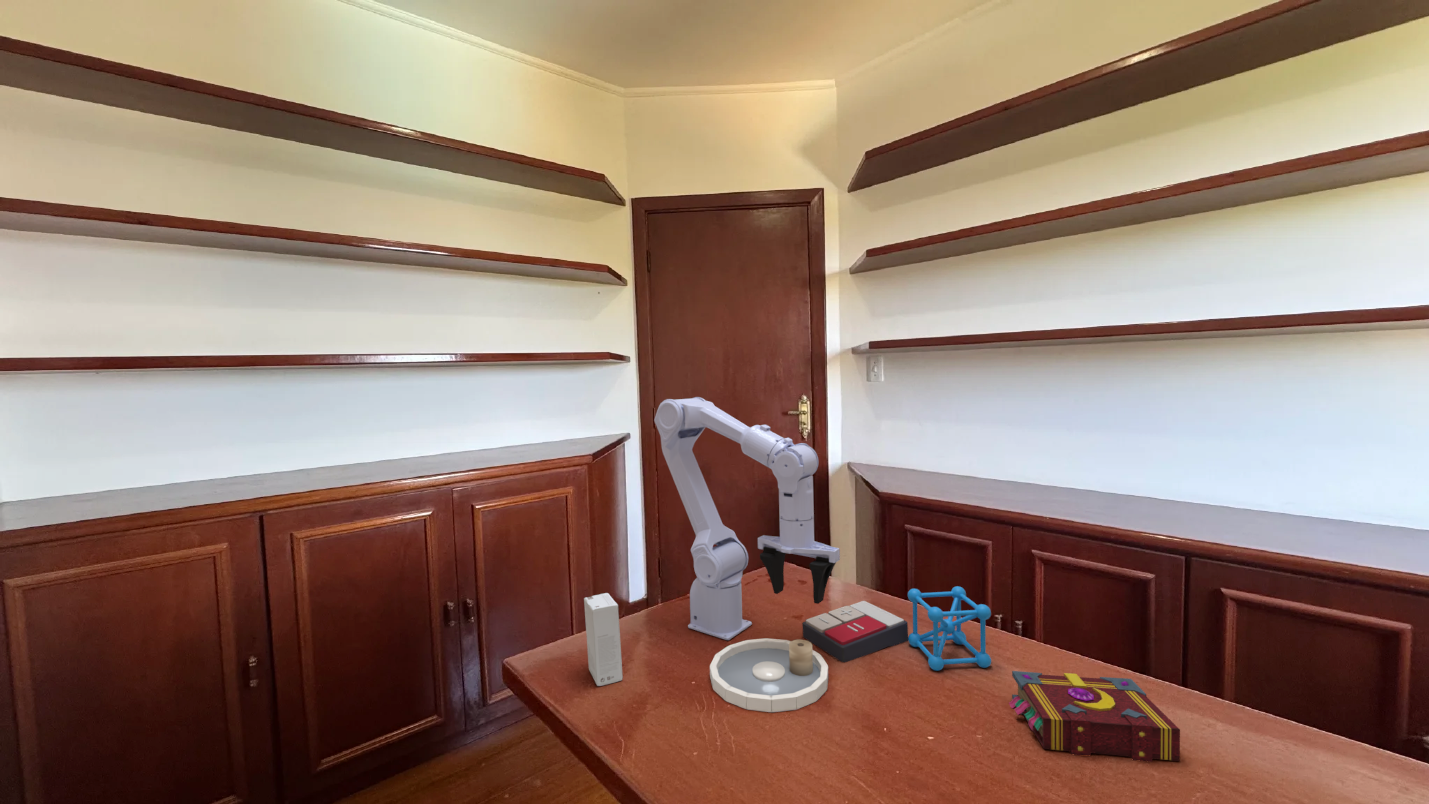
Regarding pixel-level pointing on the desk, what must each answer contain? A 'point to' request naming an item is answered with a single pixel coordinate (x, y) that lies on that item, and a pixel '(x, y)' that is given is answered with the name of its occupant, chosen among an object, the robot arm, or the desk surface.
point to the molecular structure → (949, 628)
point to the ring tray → (765, 676)
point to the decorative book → (1095, 716)
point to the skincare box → (603, 639)
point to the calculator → (855, 631)
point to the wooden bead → (801, 657)
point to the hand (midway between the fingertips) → (798, 596)
